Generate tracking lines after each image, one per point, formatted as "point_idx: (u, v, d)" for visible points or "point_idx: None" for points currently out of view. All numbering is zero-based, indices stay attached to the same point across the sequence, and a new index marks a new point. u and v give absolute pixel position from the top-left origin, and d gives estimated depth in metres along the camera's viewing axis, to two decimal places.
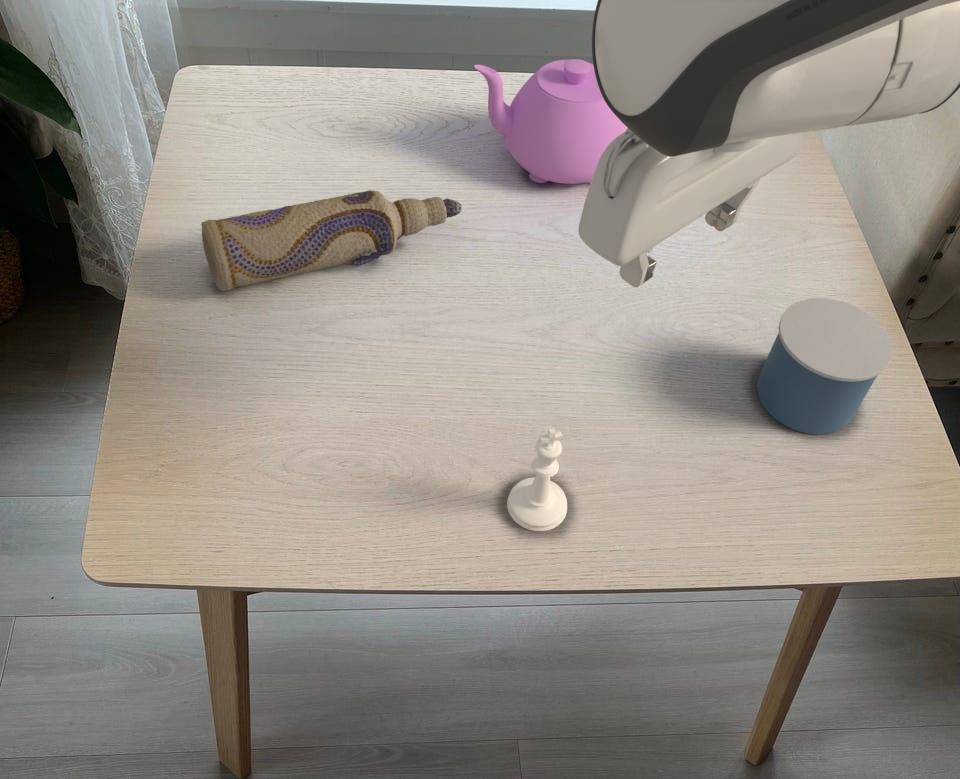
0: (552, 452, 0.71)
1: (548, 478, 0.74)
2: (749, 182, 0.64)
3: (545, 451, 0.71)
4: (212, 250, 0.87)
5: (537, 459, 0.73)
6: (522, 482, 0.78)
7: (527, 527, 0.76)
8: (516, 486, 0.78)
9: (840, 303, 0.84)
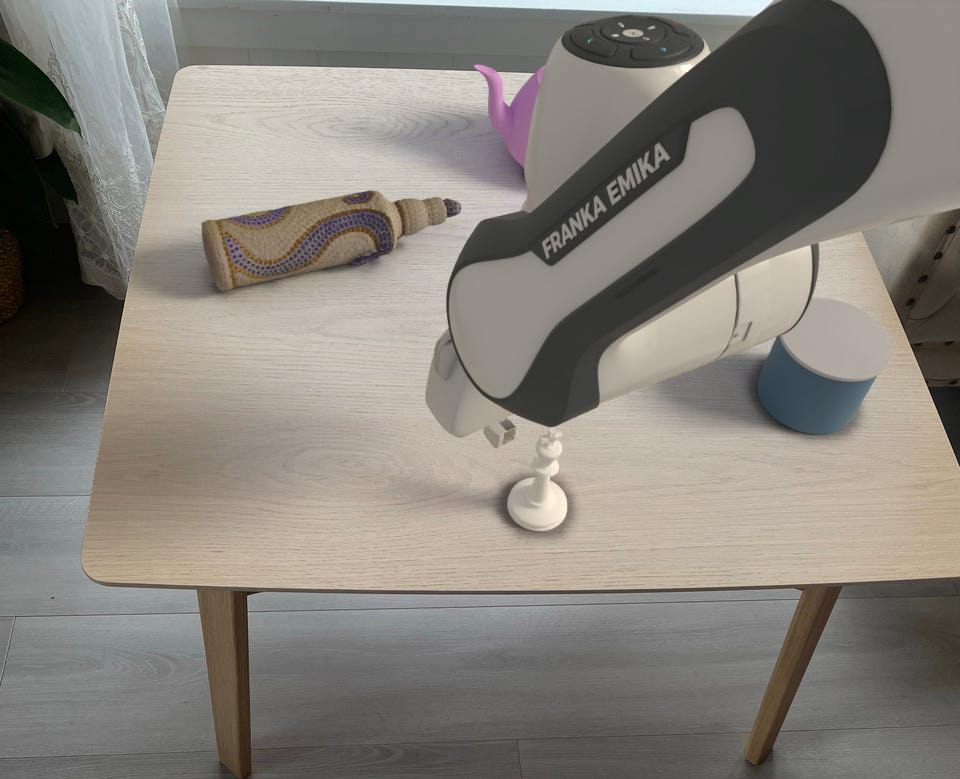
0: (552, 452, 0.71)
1: (548, 478, 0.74)
2: None
3: (545, 451, 0.71)
4: (212, 250, 0.87)
5: (537, 459, 0.73)
6: (522, 482, 0.78)
7: (527, 527, 0.76)
8: (516, 486, 0.78)
9: (840, 303, 0.84)
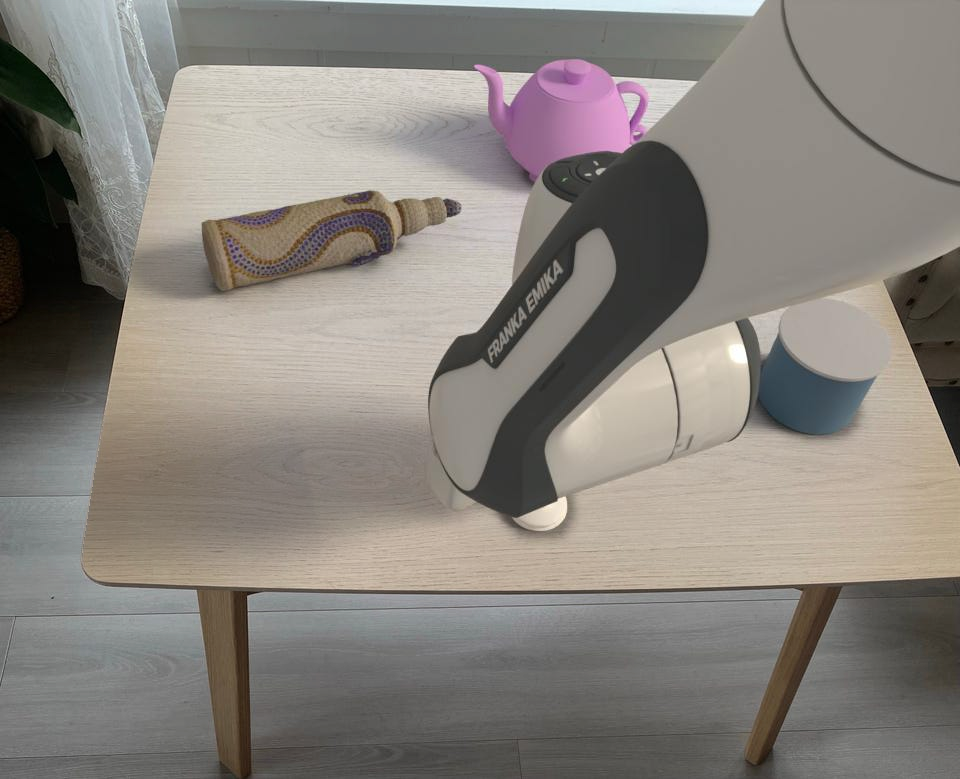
0: None
1: None
2: None
3: None
4: (212, 250, 0.87)
5: None
6: None
7: (527, 527, 0.76)
8: None
9: (840, 303, 0.84)
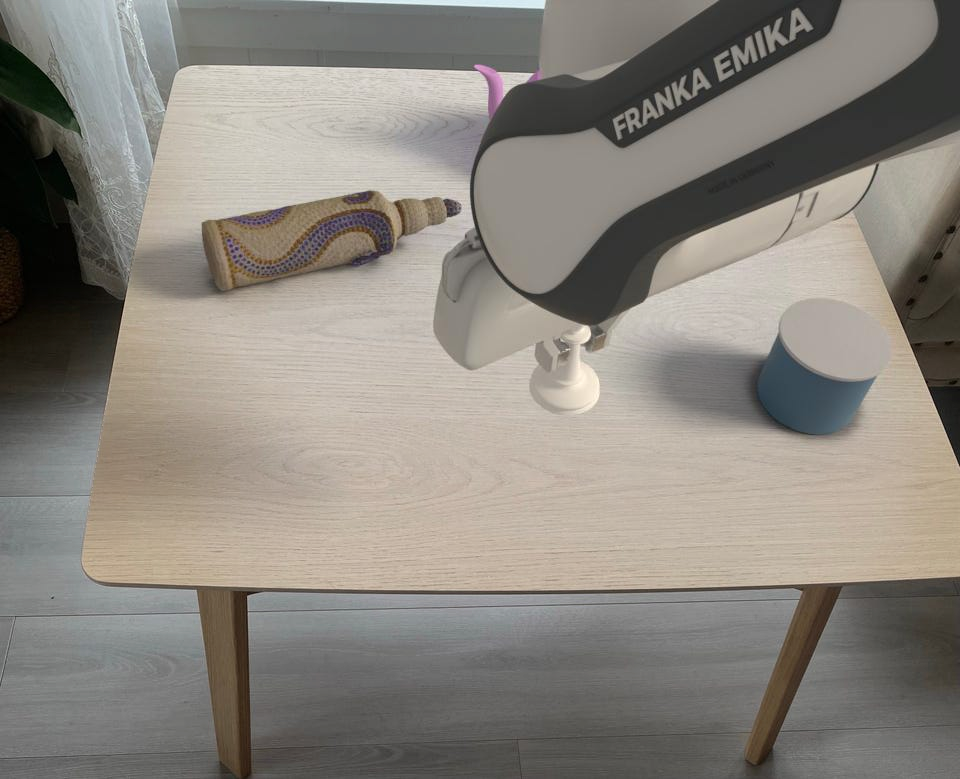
0: None
1: (578, 349, 0.63)
2: None
3: None
4: (212, 250, 0.87)
5: None
6: None
7: (553, 411, 0.65)
8: (539, 366, 0.66)
9: (840, 303, 0.84)
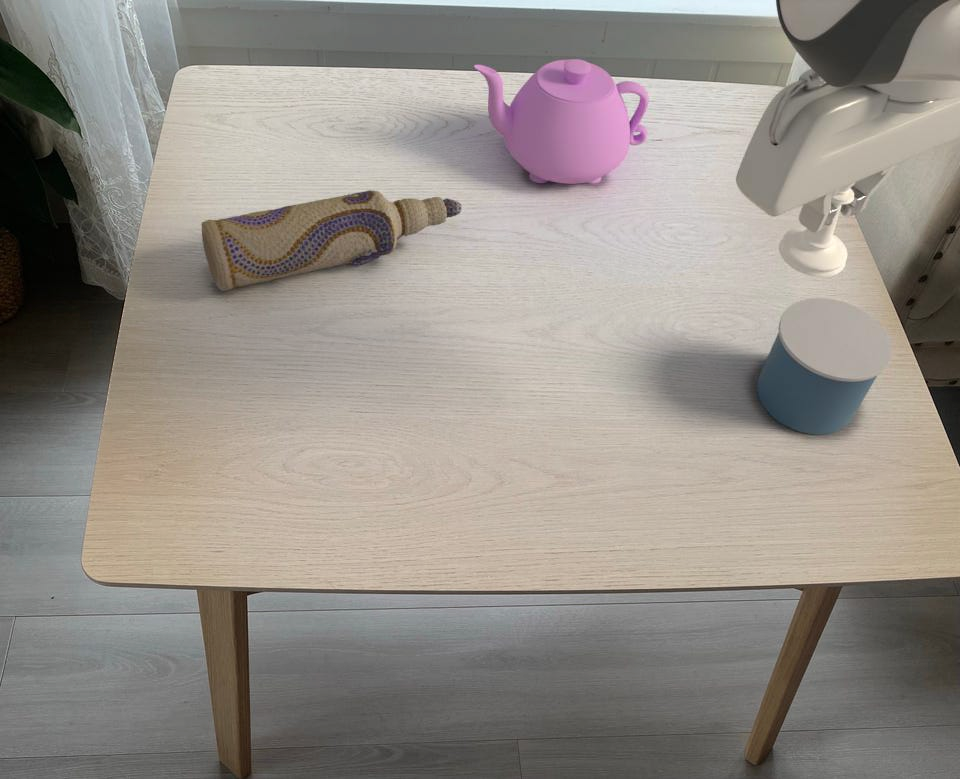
0: None
1: (839, 211, 0.67)
2: (913, 153, 0.64)
3: None
4: (212, 250, 0.87)
5: None
6: (794, 230, 0.71)
7: (808, 272, 0.69)
8: (788, 233, 0.70)
9: (840, 303, 0.84)
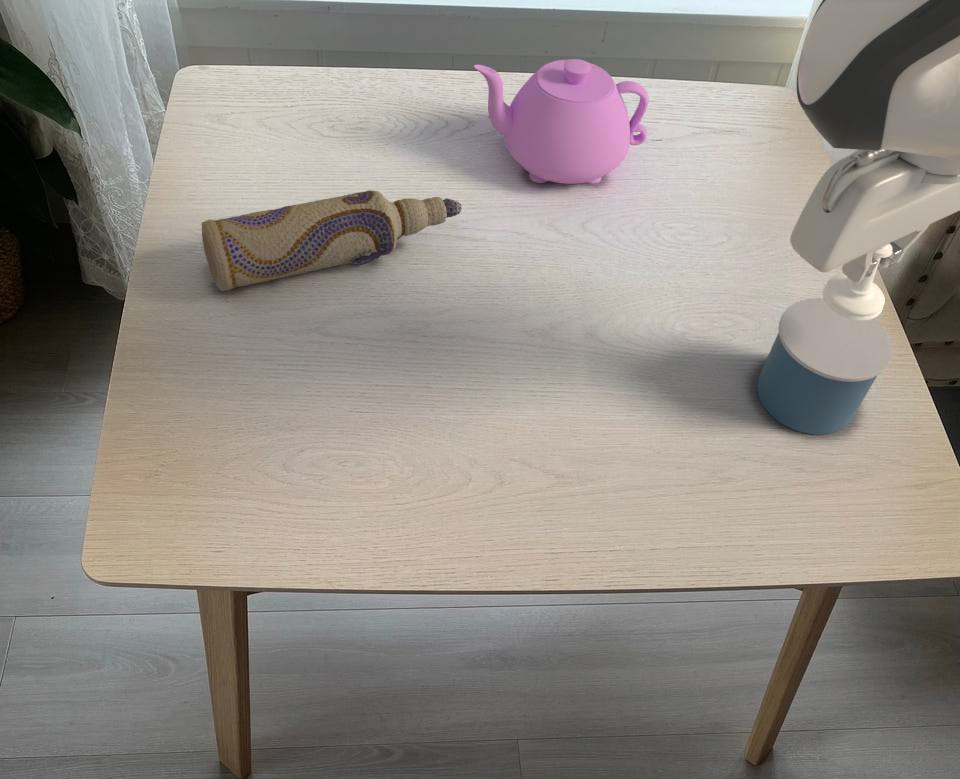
0: None
1: (878, 262, 0.75)
2: (946, 214, 0.72)
3: None
4: (212, 250, 0.87)
5: None
6: (836, 277, 0.79)
7: (849, 316, 0.77)
8: (831, 280, 0.78)
9: None
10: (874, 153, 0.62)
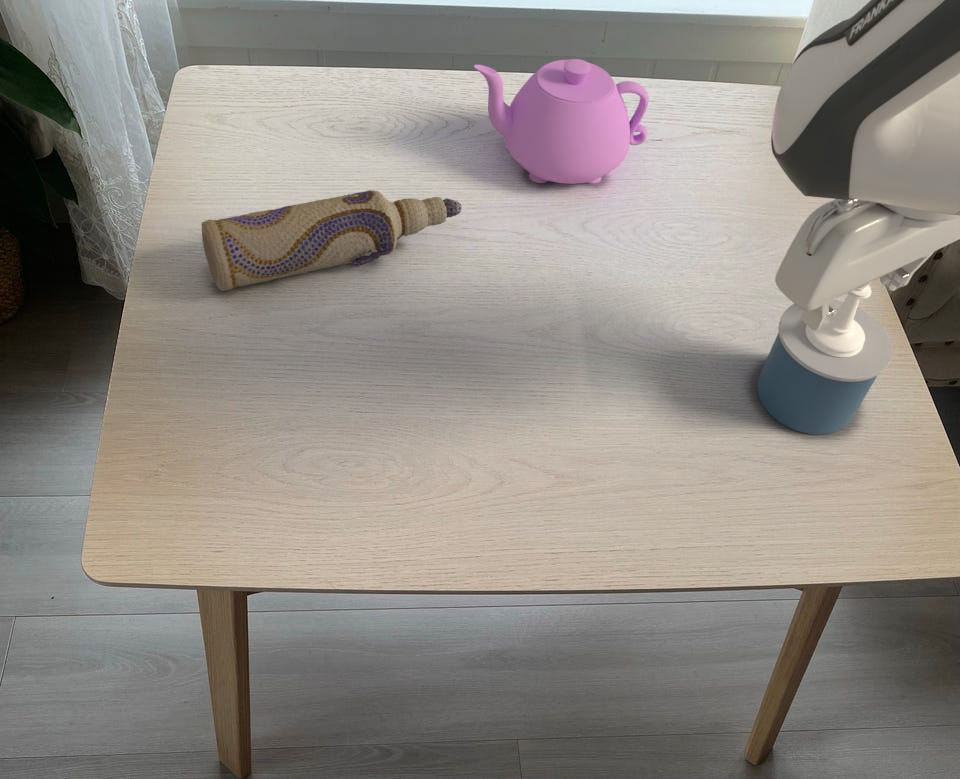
0: None
1: (858, 303, 0.78)
2: (925, 253, 0.75)
3: None
4: (212, 250, 0.87)
5: None
6: None
7: (831, 353, 0.80)
8: None
9: (840, 303, 0.84)
10: (853, 200, 0.65)
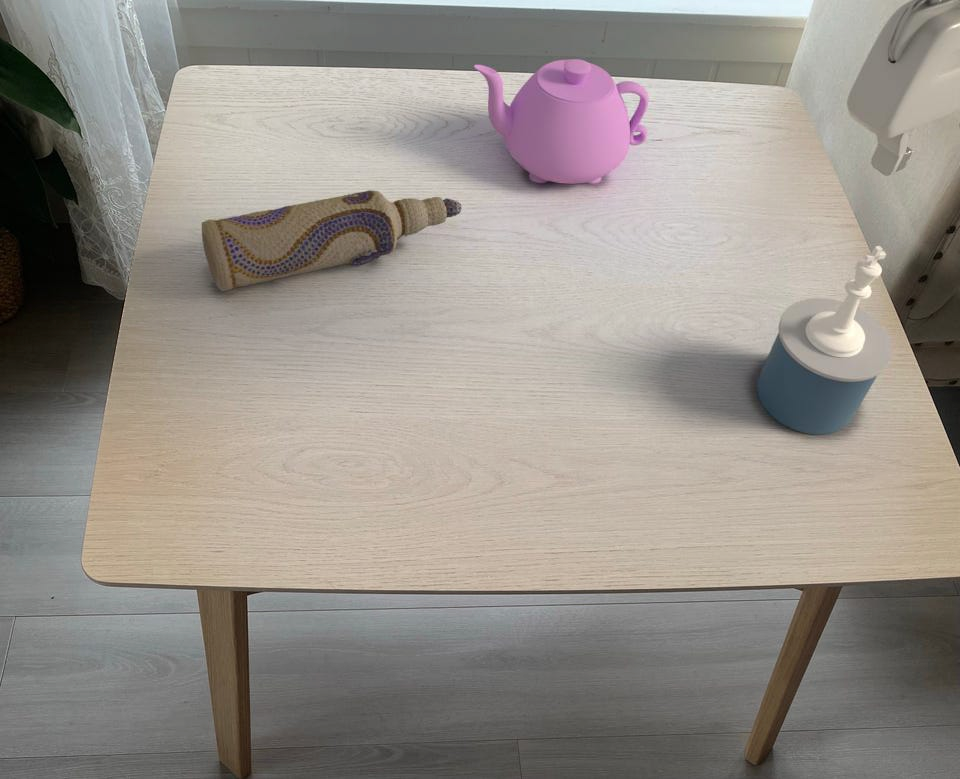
0: (874, 271, 0.75)
1: (858, 303, 0.78)
2: None
3: (868, 270, 0.75)
4: (212, 250, 0.87)
5: (850, 283, 0.77)
6: (818, 315, 0.82)
7: (831, 353, 0.80)
8: (814, 318, 0.82)
9: (840, 303, 0.84)
10: None
